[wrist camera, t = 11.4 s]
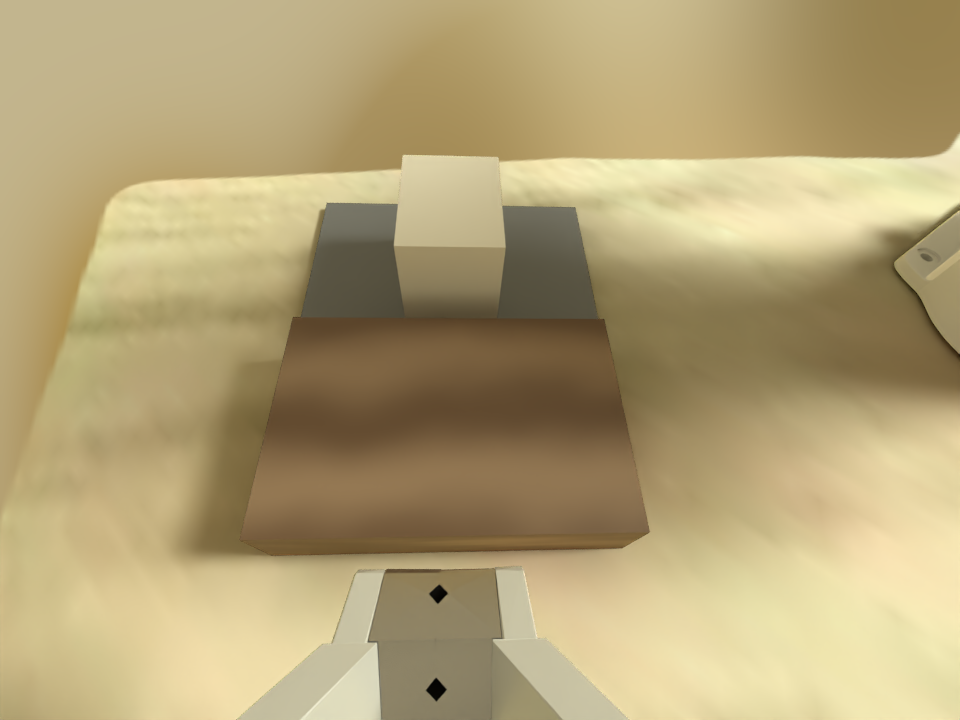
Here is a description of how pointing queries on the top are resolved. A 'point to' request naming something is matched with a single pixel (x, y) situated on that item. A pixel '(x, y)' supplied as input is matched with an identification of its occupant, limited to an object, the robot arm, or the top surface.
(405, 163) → the cream block
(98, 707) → the top surface
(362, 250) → the charcoal mat
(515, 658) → the robot arm
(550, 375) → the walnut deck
